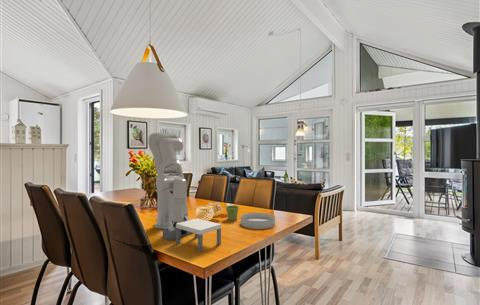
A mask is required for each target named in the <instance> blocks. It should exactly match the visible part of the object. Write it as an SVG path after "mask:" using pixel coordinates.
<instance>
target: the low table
mask: <svg viewBox="0 0 480 305" xmlns="http://www.w3.org/2000/svg"><path fill="white" fill-rule="evenodd" d="M180 229H182V230H186V231H189V232H192V234H194V238H195V239H197V252H199V253H201V252H203V249H204V248H203V240H204V239H203V235H204V234H207V233H211V232H213V231H216V245H218V246H220V245H222V224H221V223H218V222H212V221H209V220H207V219H206V220H205V219H201V218H193V219H189V221H185V222H181V223H177V224H176V239H175V244H176V245H179V244H181V237H180Z"/></svg>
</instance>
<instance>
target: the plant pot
mask: <svg viewBox="0 0 480 305" xmlns="http://www.w3.org/2000/svg"><path fill="white" fill-rule="evenodd" d="M239 209H240V206H239V205H226V206H225V210H226V213H227V220H229V221H236V220H237V219H238V214H239V212H238V211H239Z"/></svg>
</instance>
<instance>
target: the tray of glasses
mask: <svg viewBox="0 0 480 305" xmlns="http://www.w3.org/2000/svg"><path fill="white" fill-rule="evenodd" d="M191 234H193V233H192V232H189V231H187V234H185V235H181V229H180V238H182V237H185V236H188V235H191ZM162 239H165V240H167V239H168V241H173V240H176V226H174V227H169V228H167V229H162Z"/></svg>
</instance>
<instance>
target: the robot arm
mask: <svg viewBox="0 0 480 305" xmlns="http://www.w3.org/2000/svg"><path fill="white" fill-rule="evenodd" d="M147 144H148V147H149V151H150V152H151V154H152V157H153V162H154V167H155V171H156V173H157V177H156V179H155V180H156V181H155V186H156V192H157V218H155V222H156V223H155V224H154V228H155V229H157V230H159V229H160V230H163V229H167V228H169V227H174V226H176V224H177V223H181V222H185V221H189V220H190V219H189V211H188V203H187V201H188V200H187V199H188V198H187V195H188V192H187V188H188V186H187V184H188V182H187V179H185V176H184V171H183V166H182V164H181V161H179V160H178V158H177V153H179V152H182V151H183V150H184V143H183V140H182V139H181V138H180V137H179V136H178V135H177V134H175V133H168V132H154V133H150V134H149V135H148V139H147ZM176 152H177V153H176ZM171 192H172V193H171ZM185 234H187V231H186V230H182V229H181V235H185Z"/></svg>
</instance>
